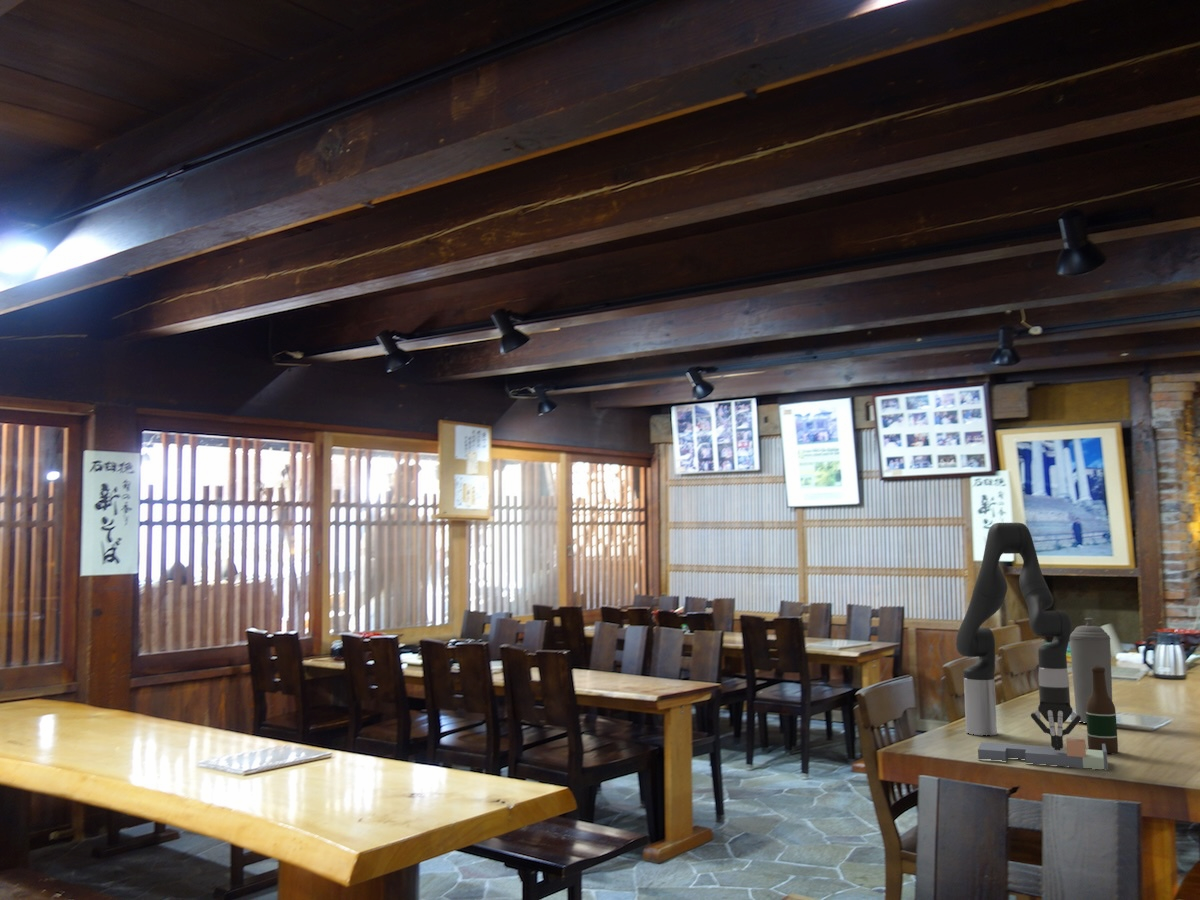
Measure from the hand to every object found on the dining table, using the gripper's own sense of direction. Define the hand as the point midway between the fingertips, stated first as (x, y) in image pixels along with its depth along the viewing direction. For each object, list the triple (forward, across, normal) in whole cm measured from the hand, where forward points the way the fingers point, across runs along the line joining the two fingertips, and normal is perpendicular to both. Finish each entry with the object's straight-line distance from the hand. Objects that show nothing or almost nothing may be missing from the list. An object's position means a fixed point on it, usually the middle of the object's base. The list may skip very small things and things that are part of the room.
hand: (1057, 749), depth 265 cm
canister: (+4, -10, -77) cm, 78 cm away
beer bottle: (+4, -11, -24) cm, 27 cm away
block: (+1, -5, +1) cm, 5 cm away
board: (+4, +4, -3) cm, 7 cm away
